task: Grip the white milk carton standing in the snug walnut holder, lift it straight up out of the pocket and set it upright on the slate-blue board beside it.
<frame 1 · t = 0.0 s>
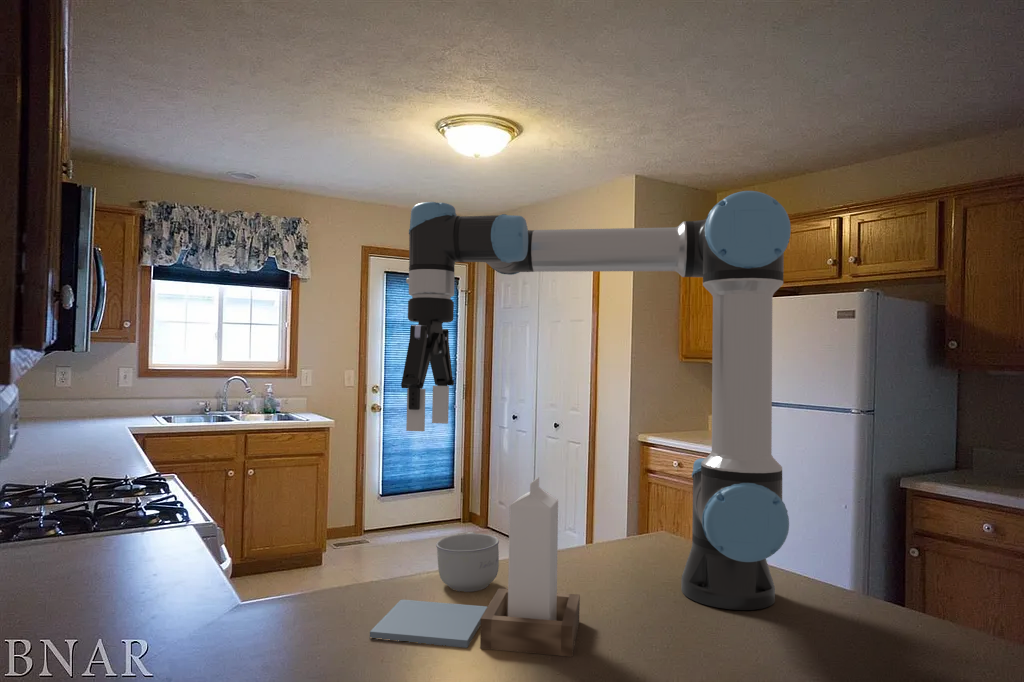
hand: (428, 427, 111), 28 cm above the counter, tool pointing down, fingers open, 13 cm apart
milk: (532, 635, 97), resting in holder
holder: (532, 634, 97), on the counter
teacup: (469, 584, 119), on the counter
board: (431, 625, 100), on the counter
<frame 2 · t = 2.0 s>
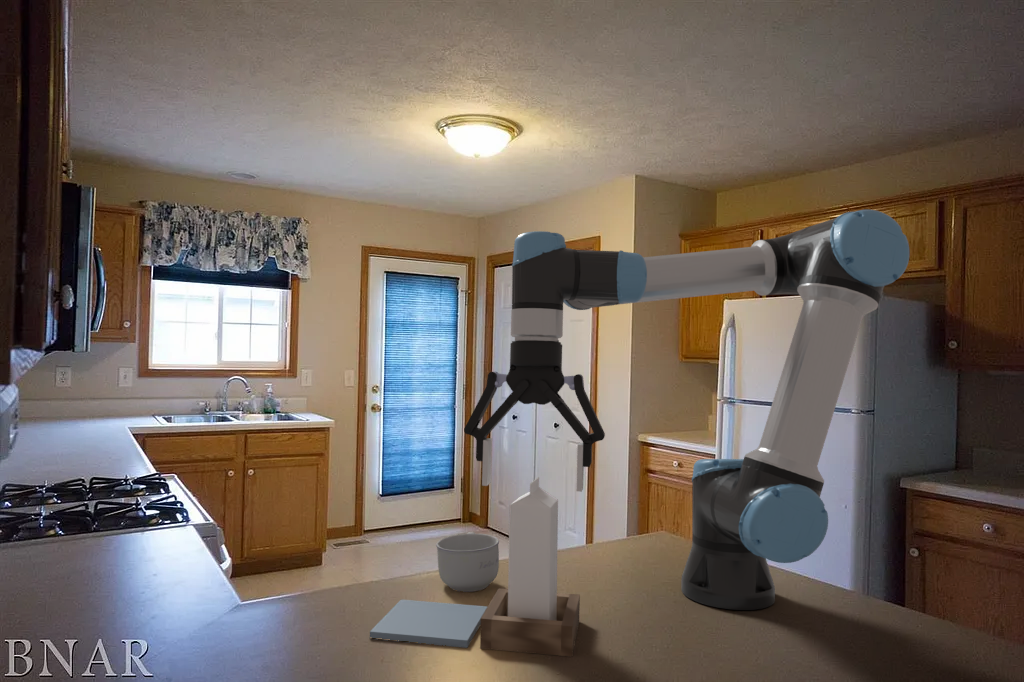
hand: (532, 487, 98), 21 cm above the counter, tool pointing down, fingers open, 13 cm apart
nothing on the counter moved.
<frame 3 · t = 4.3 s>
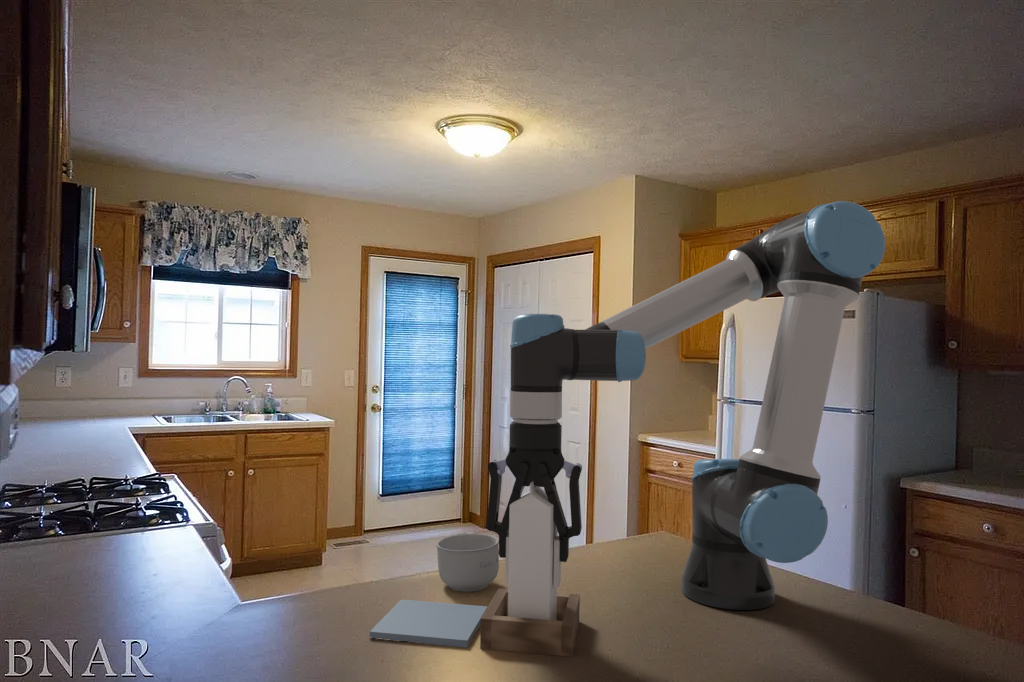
hand: (533, 581, 97), 7 cm above the counter, tool pointing down, fingers closed on milk, 6 cm apart
milk: (532, 635, 97), resting in holder, touching gripper
everything else where it was.
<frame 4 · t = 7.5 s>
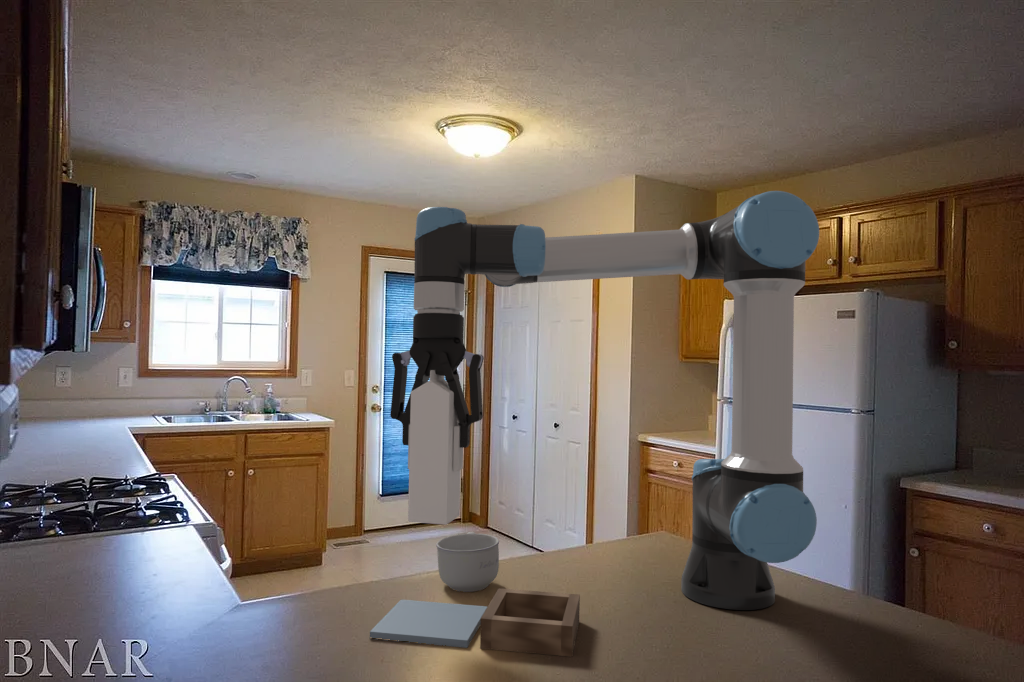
hand: (435, 468, 100), 23 cm above the counter, tool pointing down, fingers closed on milk, 6 cm apart
milk: (434, 520, 100), point 15 cm above the counter, touching gripper
everything else where it was.
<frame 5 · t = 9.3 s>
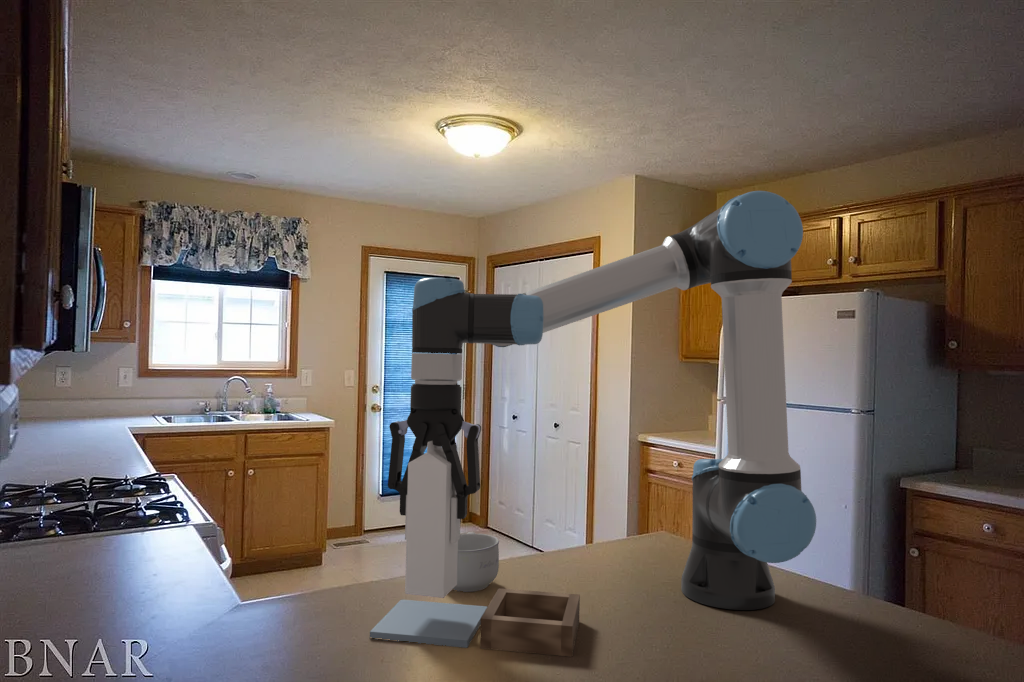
hand: (432, 538, 100), 13 cm above the counter, tool pointing down, fingers closed on milk, 6 cm apart
milk: (431, 590, 100), point 5 cm above the counter, touching gripper
everything else where it was.
when the fingers open (9 cm above the counter, at t = 10.7 s): milk stays where it is, resting on board.
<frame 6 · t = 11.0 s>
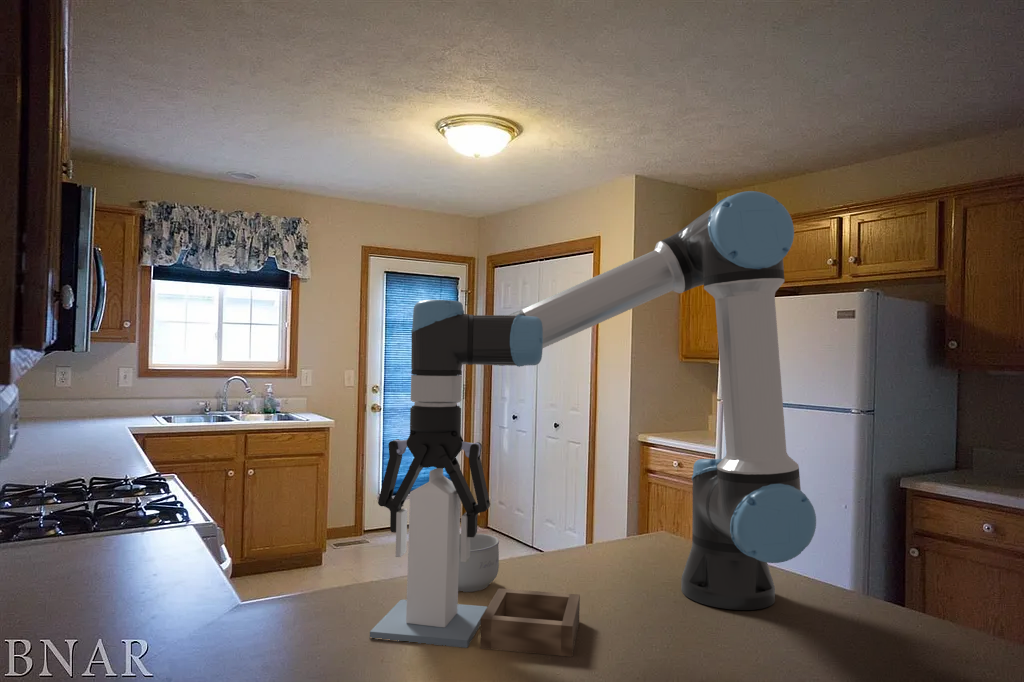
hand: (432, 556, 100), 10 cm above the counter, tool pointing down, fingers open, 9 cm apart
milk: (432, 619, 100), point 1 cm above the counter, touching board
everything else where it was.
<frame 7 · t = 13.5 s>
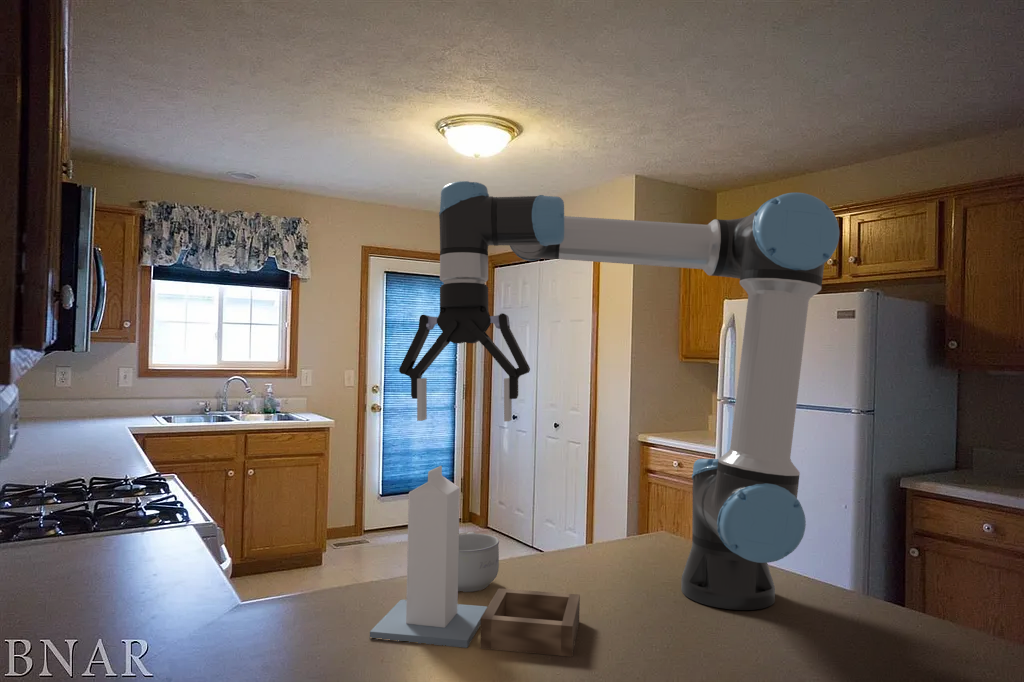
hand: (464, 420, 105), 30 cm above the counter, tool pointing down, fingers open, 13 cm apart
nothing on the counter moved.
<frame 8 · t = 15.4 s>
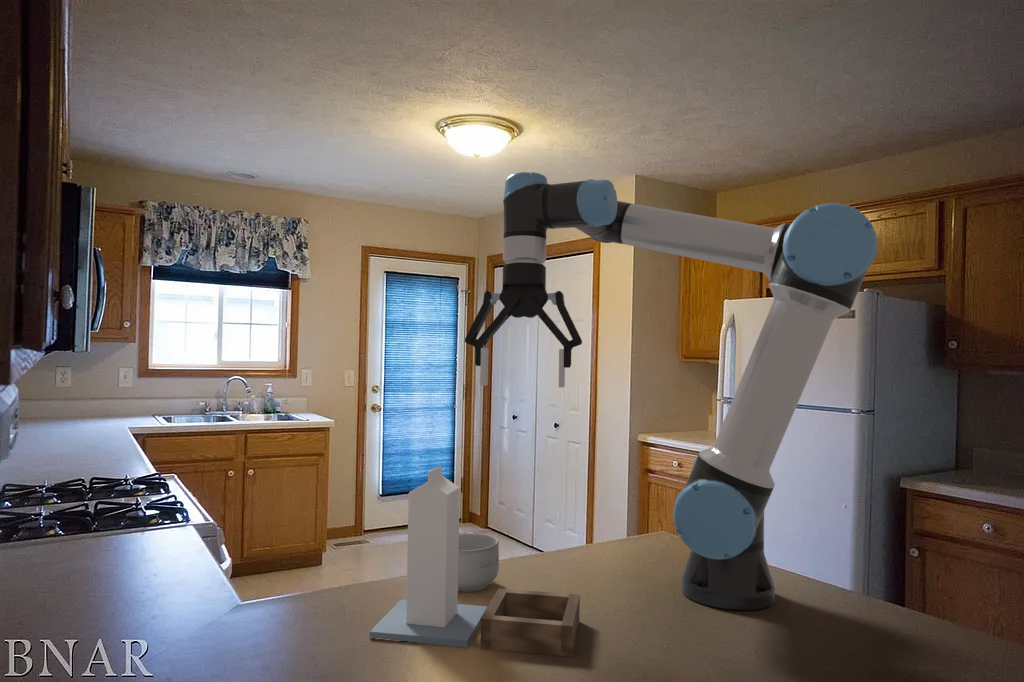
hand: (522, 386, 117), 35 cm above the counter, tool pointing down, fingers open, 13 cm apart
nothing on the counter moved.
at the end: milk inside the target area (0.1 cm from its centre), point 0.8 cm above the counter; milk tilted 0°; the gripper is holding nothing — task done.
